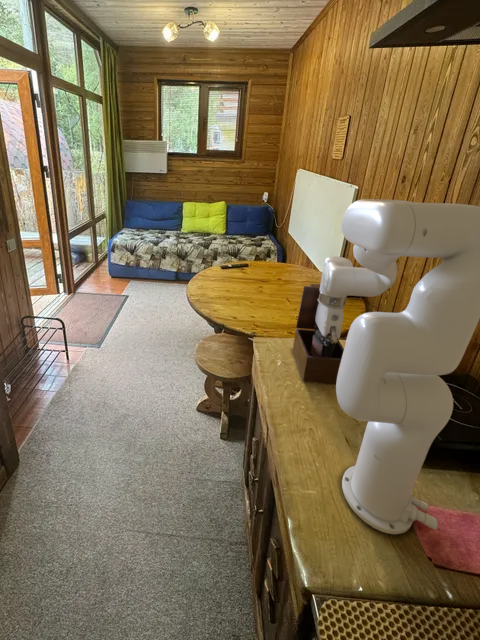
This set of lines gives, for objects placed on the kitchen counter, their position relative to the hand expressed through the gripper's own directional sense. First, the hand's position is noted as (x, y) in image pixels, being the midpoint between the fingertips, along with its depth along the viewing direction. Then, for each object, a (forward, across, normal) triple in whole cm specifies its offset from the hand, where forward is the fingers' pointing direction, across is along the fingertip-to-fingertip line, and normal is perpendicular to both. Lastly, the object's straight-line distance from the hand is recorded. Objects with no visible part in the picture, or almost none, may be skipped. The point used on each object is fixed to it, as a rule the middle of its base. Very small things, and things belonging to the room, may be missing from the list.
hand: (322, 347), depth 97 cm
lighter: (+5, 0, 0) cm, 5 cm away
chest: (+8, +1, 0) cm, 8 cm away
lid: (-9, +8, 0) cm, 12 cm away
